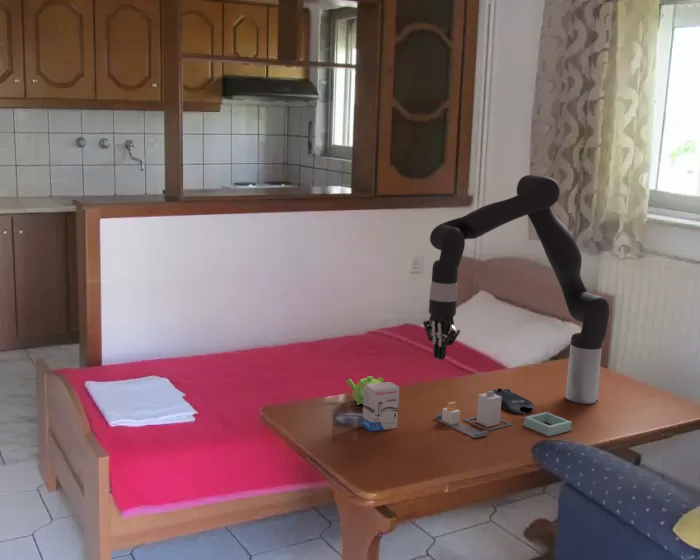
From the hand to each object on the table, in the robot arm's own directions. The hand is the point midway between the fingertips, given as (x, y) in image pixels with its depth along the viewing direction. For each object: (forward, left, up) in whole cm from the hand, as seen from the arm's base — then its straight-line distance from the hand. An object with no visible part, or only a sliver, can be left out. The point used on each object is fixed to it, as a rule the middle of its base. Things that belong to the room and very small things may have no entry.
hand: (439, 358), depth 227 cm
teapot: (+11, -17, -17) cm, 27 cm away
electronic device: (-27, +5, -18) cm, 32 cm away
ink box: (+19, 0, -17) cm, 26 cm away
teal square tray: (-22, +23, -17) cm, 35 cm away
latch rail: (0, +11, -17) cm, 20 cm away
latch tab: (0, +7, -17) cm, 18 cm away
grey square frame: (-10, +12, -17) cm, 23 cm away
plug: (-10, +12, -17) cm, 23 cm away
